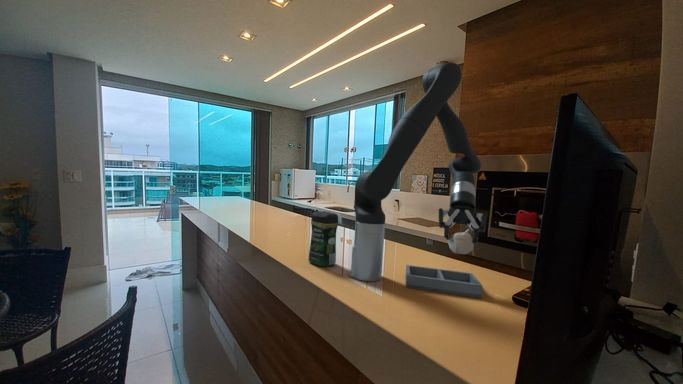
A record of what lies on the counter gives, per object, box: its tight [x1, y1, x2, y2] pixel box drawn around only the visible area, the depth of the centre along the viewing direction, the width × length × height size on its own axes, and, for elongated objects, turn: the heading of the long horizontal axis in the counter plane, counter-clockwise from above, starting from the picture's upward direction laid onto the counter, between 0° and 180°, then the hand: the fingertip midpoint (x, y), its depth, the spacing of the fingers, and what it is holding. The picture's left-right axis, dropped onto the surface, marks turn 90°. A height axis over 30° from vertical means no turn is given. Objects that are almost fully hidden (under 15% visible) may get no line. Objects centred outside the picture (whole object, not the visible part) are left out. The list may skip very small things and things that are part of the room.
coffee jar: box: [308, 210, 339, 268], centre depth 94 cm, size 10×8×19 cm
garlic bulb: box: [447, 228, 474, 255], centre depth 78 cm, size 7×6×8 cm
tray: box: [405, 264, 483, 300], centre depth 79 cm, size 20×11×4 cm, turn 76°
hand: (460, 239), depth 76 cm, fingers closed on garlic bulb, 6 cm apart
